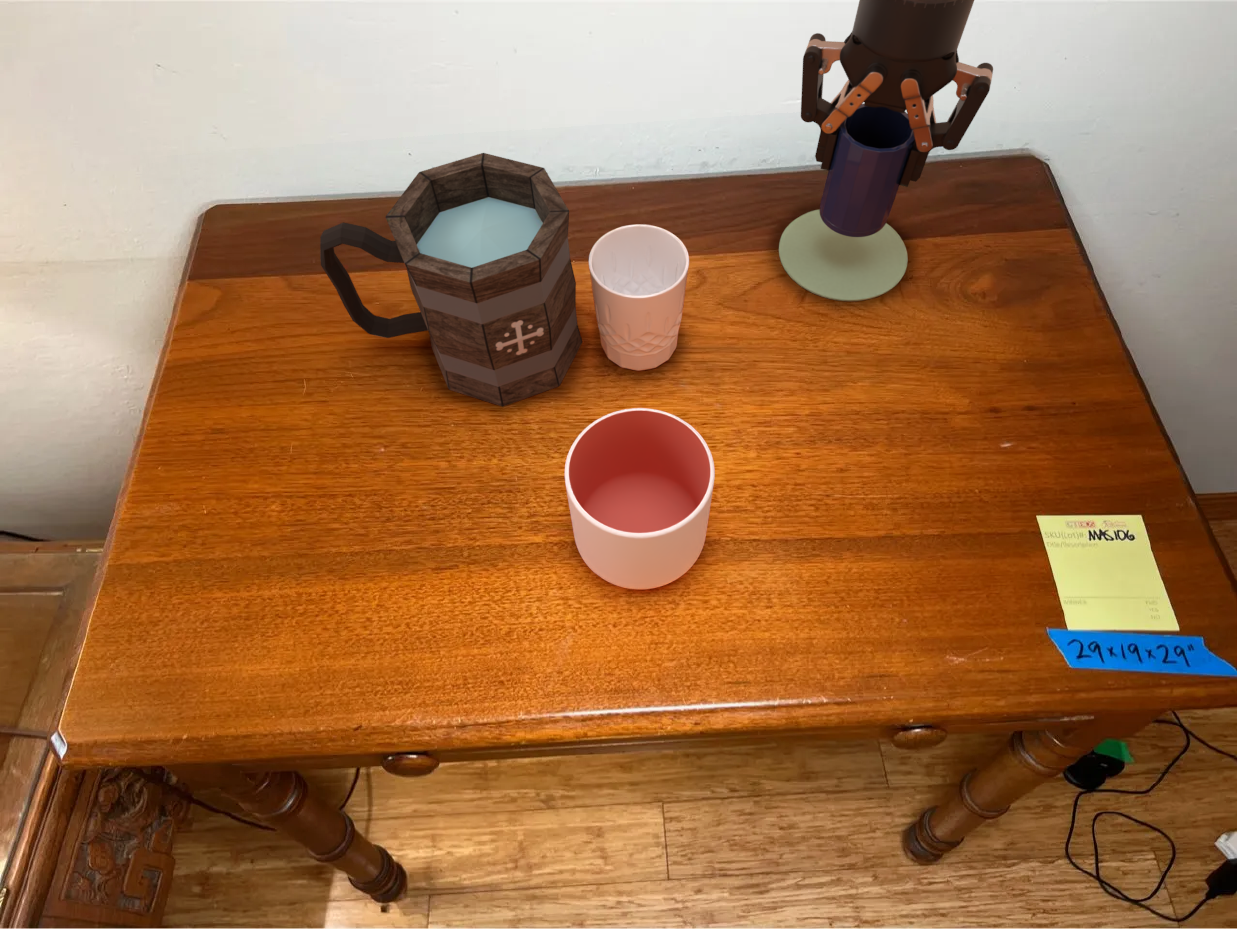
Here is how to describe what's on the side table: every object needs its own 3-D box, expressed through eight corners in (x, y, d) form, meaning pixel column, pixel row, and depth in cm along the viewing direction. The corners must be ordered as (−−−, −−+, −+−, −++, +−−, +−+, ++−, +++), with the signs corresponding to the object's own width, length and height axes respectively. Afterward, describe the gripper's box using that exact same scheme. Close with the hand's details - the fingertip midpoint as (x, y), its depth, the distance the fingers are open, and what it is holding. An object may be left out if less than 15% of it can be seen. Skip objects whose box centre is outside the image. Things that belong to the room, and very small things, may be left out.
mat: (916, 223, 79) (916, 222, 79) (895, 314, 73) (896, 312, 73) (794, 198, 81) (794, 196, 81) (765, 284, 75) (765, 282, 75)
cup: (729, 518, 63) (742, 450, 54) (659, 620, 59) (662, 565, 50) (622, 457, 66) (619, 384, 58) (549, 550, 62) (534, 487, 53)
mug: (582, 285, 76) (570, 149, 63) (582, 404, 69) (568, 279, 56) (373, 291, 76) (318, 158, 63) (351, 411, 69) (285, 288, 56)
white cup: (597, 306, 74) (591, 223, 66) (683, 308, 74) (688, 224, 65) (592, 376, 70) (585, 296, 62) (683, 377, 70) (689, 298, 61)
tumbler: (892, 198, 74) (922, 110, 66) (881, 243, 71) (910, 157, 63) (826, 184, 75) (848, 96, 67) (812, 229, 72) (833, 142, 64)
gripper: (807, -21, 54) (771, 183, 68) (1032, 16, 51) (946, 220, 66) (829, -77, 58) (791, 128, 72) (1041, -46, 55) (957, 160, 69)
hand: (865, 171), depth 69 cm, fingers closed on tumbler, 6 cm apart
